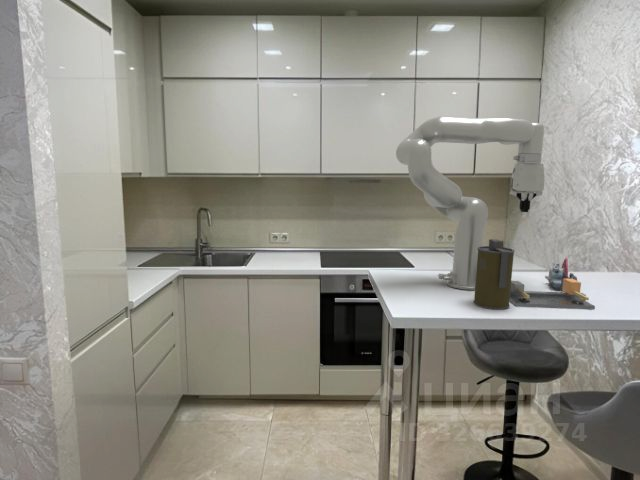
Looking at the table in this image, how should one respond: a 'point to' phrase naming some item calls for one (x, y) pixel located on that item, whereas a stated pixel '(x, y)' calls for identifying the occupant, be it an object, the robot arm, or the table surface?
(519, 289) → the fixed leg
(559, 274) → the brake caliper
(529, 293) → the rail
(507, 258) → the canister
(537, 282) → the table surface
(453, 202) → the robot arm
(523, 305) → the strip
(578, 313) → the table surface
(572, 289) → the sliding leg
